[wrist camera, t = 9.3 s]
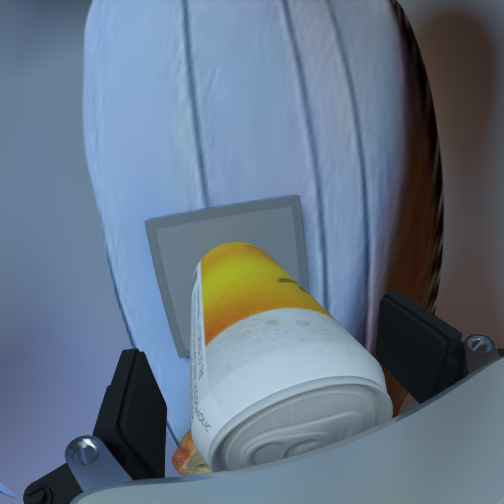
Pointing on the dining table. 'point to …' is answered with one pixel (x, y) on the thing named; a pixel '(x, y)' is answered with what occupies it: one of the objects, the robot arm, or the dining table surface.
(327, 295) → the dining table surface
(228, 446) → the beer can
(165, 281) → the slate coaster
